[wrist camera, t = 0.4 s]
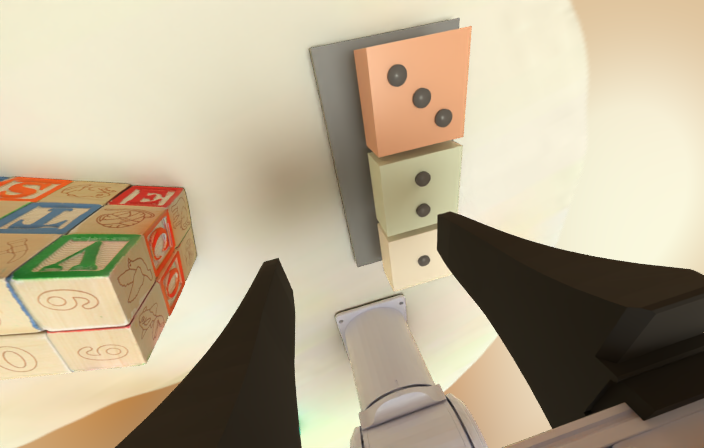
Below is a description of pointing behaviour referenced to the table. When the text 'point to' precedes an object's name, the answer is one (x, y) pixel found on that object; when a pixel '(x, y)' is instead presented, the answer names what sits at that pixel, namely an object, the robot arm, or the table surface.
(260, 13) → the table surface
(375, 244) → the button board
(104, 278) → the stack of blocks
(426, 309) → the table surface
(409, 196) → the tile two
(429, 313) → the table surface
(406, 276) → the tile one
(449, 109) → the tile three
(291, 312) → the robot arm
